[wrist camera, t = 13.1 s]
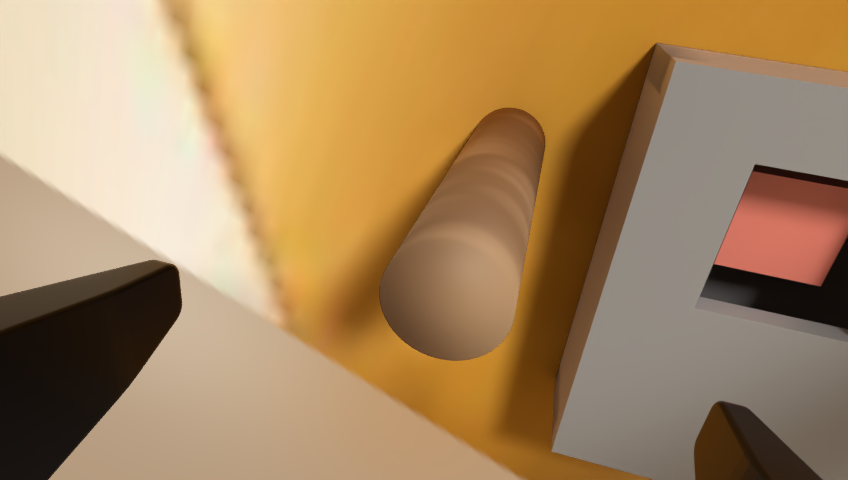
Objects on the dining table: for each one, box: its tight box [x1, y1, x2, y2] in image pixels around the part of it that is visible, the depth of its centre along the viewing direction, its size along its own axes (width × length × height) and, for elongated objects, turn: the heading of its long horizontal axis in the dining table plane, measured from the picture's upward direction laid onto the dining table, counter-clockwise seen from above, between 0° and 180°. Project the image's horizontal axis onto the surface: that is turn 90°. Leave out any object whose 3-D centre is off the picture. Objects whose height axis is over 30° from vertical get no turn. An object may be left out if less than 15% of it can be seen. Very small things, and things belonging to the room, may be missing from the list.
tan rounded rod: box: [379, 108, 545, 361], centre depth 15 cm, size 3×3×11 cm
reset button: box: [714, 164, 848, 286], centre depth 18 cm, size 3×3×2 cm
